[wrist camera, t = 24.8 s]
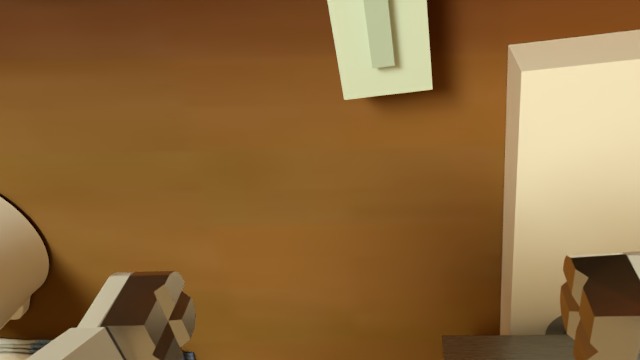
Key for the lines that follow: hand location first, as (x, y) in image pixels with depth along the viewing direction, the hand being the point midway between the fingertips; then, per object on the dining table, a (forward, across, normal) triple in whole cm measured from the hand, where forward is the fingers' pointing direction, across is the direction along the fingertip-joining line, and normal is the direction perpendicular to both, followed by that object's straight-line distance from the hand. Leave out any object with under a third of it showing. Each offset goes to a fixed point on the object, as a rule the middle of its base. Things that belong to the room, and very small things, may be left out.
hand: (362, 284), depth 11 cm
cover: (+23, 0, 0) cm, 23 cm away
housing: (+23, -12, +18) cm, 32 cm away
